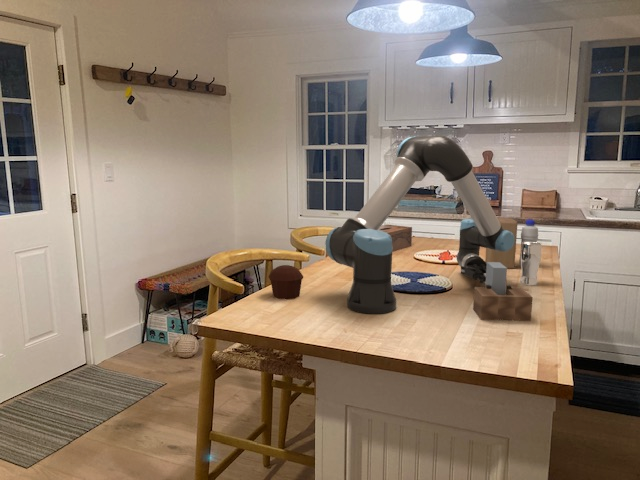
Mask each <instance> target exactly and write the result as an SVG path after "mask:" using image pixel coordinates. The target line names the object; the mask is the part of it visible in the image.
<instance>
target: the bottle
mask: <svg viewBox="0 0 640 480" xmlns="http://www.w3.org/2000/svg"><path fill="white" fill-rule="evenodd" d="M520 240H521V243H520V247H521V246H522V242H537V241H538V240H539V227H537V226H535V220H534V219H526V221H525V225H524V226H522V229H521V233H520ZM519 266H520V267H521V261H520V259H519Z"/></svg>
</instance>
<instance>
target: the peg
mask: <svg viewBox="0 0 640 480" xmlns="http://www.w3.org/2000/svg"><path fill="white" fill-rule="evenodd" d="M507 274H508V269H507V268H506V267H505V266H504V265H503V264H501V263H500V262H487V267H486V283H485V282H484V284H485V285H484V287H486V285H491V289H492V290H493V291H494V292H495V293H496V294H497V295H506V285H507V276H508V275H507Z"/></svg>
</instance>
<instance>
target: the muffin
mask: <svg viewBox="0 0 640 480" xmlns="http://www.w3.org/2000/svg"><path fill="white" fill-rule="evenodd" d="M268 279H269V281H270V284H271V290H272V296H273V298H274V299H278V300H286V301H287V300H294V299H297V298H299V297H300V295H301V288H302V281H303V279H304V275H303V274H302V272H301V270H299V268H297V267H296V266H293V265H289V264H284V265H283V264H282V265H279V266H277V267H274V268H273V269H272V270H271V271H270V272H269V274H268Z"/></svg>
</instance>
